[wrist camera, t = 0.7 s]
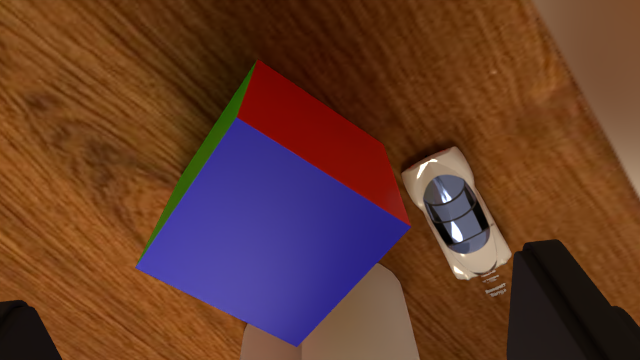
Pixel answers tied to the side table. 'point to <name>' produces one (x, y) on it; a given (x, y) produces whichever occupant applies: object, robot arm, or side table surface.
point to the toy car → (457, 214)
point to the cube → (277, 210)
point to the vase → (349, 328)
